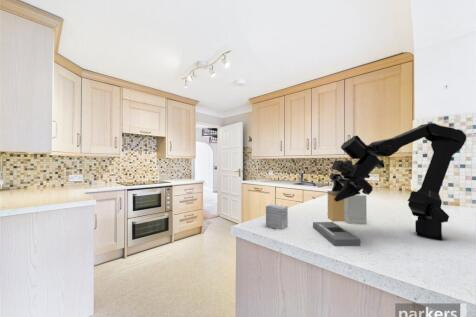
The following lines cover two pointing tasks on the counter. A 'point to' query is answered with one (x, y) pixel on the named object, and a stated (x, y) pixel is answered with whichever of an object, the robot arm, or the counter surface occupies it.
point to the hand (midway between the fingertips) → (332, 199)
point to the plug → (335, 207)
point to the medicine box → (276, 216)
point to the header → (336, 234)
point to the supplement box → (355, 209)
